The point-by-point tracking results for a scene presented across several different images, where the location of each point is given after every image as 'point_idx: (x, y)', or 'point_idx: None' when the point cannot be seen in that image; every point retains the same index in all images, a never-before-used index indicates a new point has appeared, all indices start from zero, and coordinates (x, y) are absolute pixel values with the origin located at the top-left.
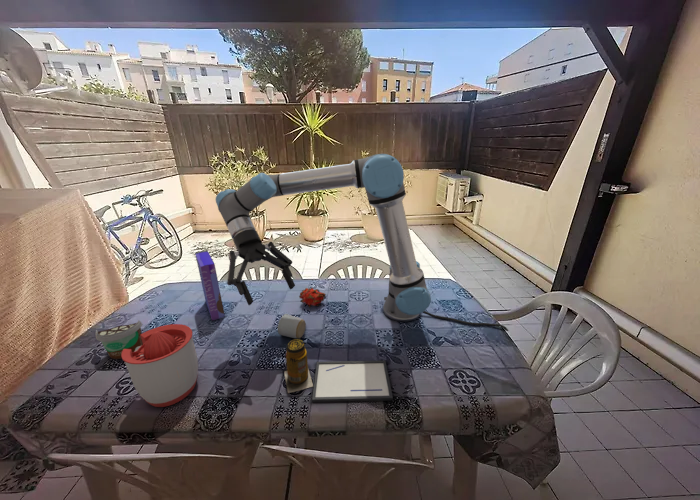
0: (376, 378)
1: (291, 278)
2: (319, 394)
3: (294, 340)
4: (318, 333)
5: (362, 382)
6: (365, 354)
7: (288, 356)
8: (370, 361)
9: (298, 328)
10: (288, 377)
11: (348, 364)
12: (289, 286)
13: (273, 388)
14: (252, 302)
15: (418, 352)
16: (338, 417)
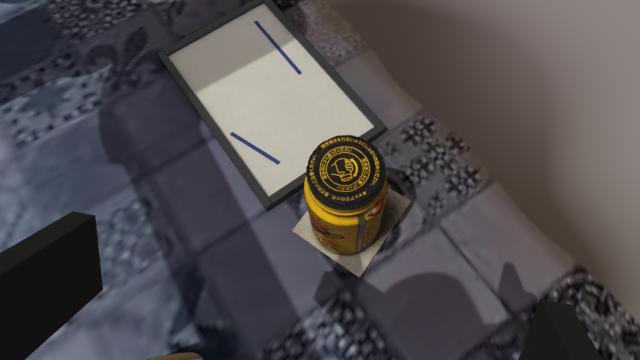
0: (228, 46)
1: (4, 254)
2: (359, 126)
3: (327, 191)
4: (120, 321)
5: (260, 64)
6: (153, 116)
7: (384, 186)
8: (180, 81)
9: (176, 355)
10: (378, 229)
11: (221, 125)
12: (82, 294)
13: (426, 255)
14: (528, 332)
15: (81, 13)
16: (376, 62)
